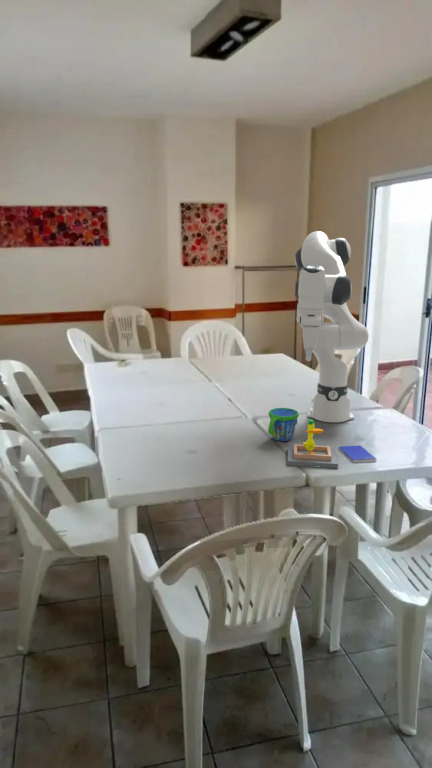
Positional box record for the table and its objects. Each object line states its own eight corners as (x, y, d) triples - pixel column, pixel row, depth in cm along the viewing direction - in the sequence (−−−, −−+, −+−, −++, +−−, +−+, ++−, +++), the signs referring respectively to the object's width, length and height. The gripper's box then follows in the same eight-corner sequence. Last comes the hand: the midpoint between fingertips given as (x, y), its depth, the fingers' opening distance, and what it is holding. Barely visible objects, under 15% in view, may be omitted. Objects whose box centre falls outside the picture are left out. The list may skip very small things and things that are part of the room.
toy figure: (320, 452, 189) (322, 418, 186) (322, 456, 186) (325, 421, 183) (300, 452, 188) (302, 418, 185) (302, 456, 185) (305, 421, 182)
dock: (287, 449, 195) (288, 441, 194) (334, 452, 193) (335, 444, 192) (287, 465, 182) (287, 456, 181) (337, 468, 180) (338, 459, 179)
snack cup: (279, 447, 197) (280, 419, 195) (257, 439, 205) (258, 412, 202) (307, 437, 207) (308, 410, 205) (285, 430, 215) (286, 404, 212)
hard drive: (376, 458, 186) (361, 445, 197) (353, 459, 184) (338, 446, 196) (376, 462, 186) (360, 449, 198) (352, 464, 185) (338, 450, 196)
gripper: (300, 311, 195) (298, 350, 199) (301, 321, 176) (298, 364, 180) (318, 311, 195) (316, 351, 199) (321, 321, 175) (318, 364, 179)
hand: (307, 357), depth 189 cm, fingers open, 8 cm apart
